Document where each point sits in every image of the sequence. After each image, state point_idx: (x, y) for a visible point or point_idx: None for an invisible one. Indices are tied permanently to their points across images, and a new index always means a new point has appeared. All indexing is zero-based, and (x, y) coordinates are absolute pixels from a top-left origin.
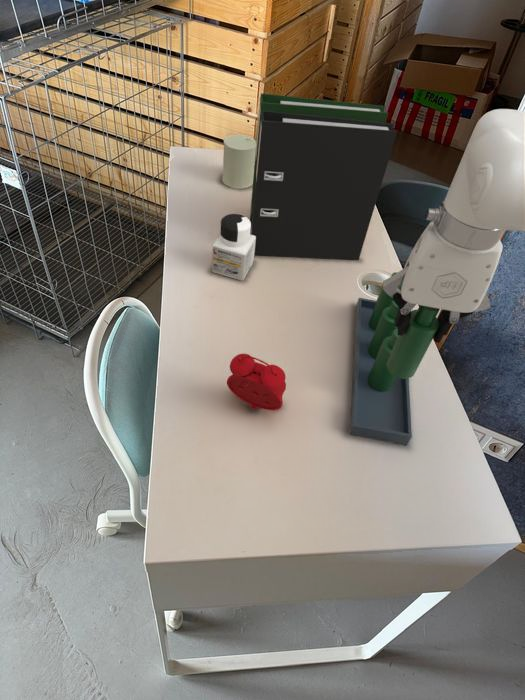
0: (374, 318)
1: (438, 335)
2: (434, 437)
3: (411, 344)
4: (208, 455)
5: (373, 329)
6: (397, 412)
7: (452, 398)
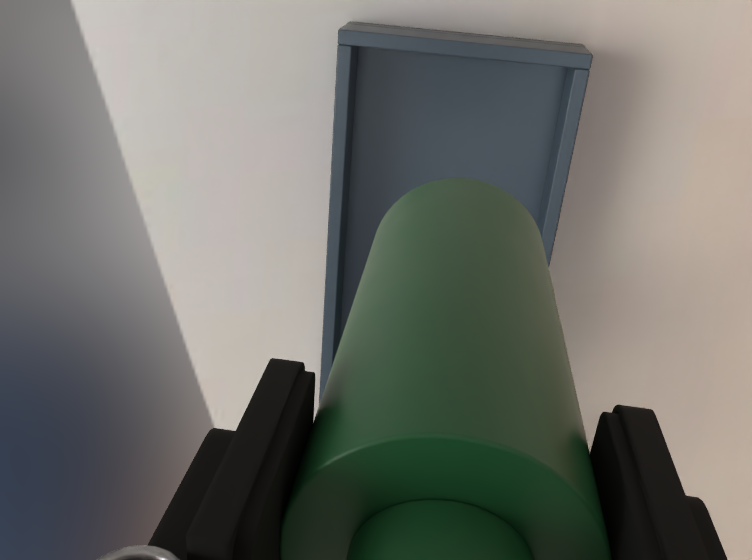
0: None
1: (290, 415)
2: (236, 76)
3: (514, 332)
4: None
5: None
6: (375, 166)
7: (160, 258)
